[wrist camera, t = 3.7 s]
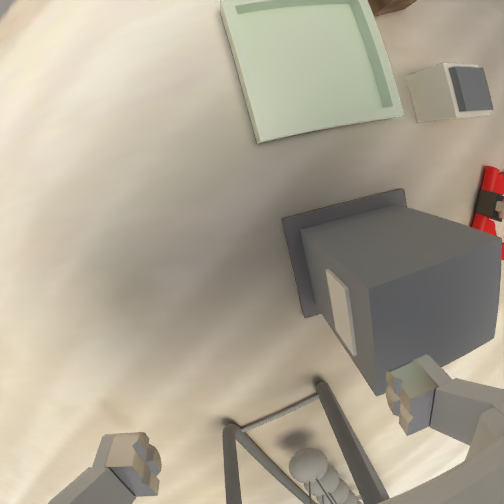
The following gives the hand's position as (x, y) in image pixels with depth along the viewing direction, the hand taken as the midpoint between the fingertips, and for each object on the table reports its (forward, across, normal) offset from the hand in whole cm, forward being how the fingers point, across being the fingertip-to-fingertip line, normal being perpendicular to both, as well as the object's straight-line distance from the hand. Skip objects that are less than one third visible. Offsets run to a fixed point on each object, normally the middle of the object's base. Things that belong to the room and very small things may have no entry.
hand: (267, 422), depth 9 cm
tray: (+16, -9, -14) cm, 23 cm away
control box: (+15, -9, +1) cm, 18 cm away
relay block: (+16, -19, -10) cm, 26 cm away
